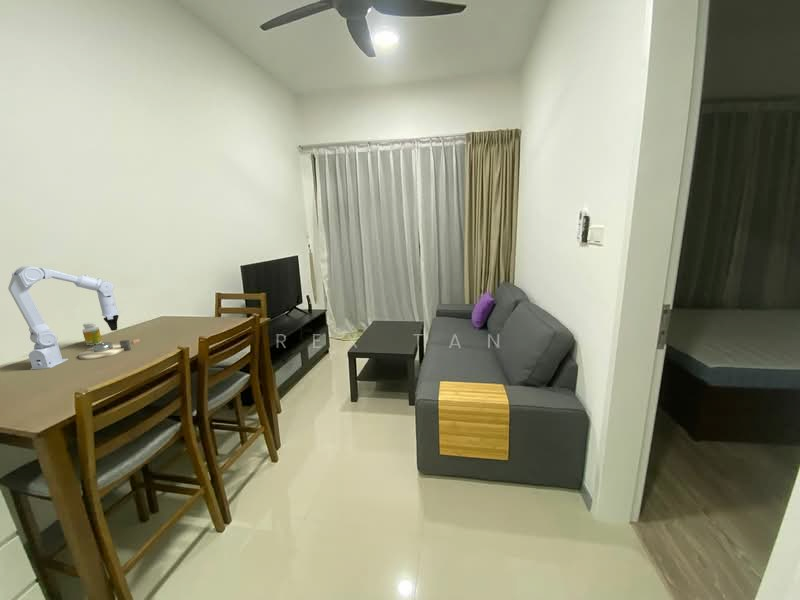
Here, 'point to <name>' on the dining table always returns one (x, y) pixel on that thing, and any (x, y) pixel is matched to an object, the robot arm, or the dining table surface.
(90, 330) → the supplement bottle
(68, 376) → the dining table surface
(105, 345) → the cover
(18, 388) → the dining table surface
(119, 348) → the turntable
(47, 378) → the dining table surface
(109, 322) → the robot arm
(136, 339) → the peach rectangular brick
